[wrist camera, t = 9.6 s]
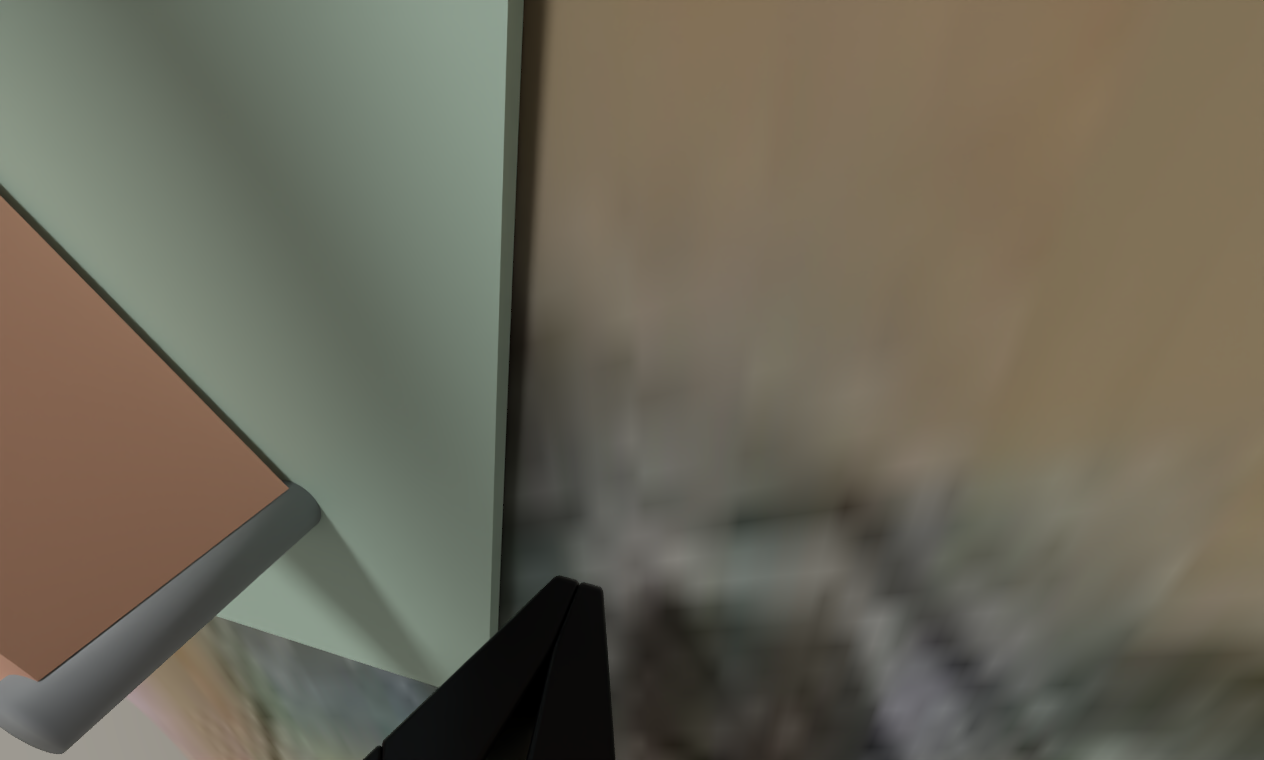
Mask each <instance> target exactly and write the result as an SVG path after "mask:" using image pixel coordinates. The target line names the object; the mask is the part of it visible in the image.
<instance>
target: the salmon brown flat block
mask: <svg viewBox="0 0 1264 760" xmlns="http://www.w3.org/2000/svg"><path fill="white" fill-rule="evenodd" d="M320 519H321V510H320V507H319V505H318V503H317V501H316V500H315V499H314V497H313V496H312V495H311V494H310V493H309V492H308V491H307V490H305V489H304V488H303V487H301V486H299V485H298V484H296V483H293V482H291V481H287V480H280V479H279V478H278V477H277V476H276V475H275V474H274V473H273V472H272V471H271V470H270V469H269V468H268V467H267V466H266V465H265V464H264V463H263V462H262V461H261V460H260V459H259V458H258V456H257V455H256V454H255V453H254V452H253V451H252V450H251V449H250V448H249V447H248V446H247V445H246V444H245V443H244V442H243V441H242V440H241V439H240V438H239V437H238V436H237V435H236V434H235V433H234V432H233V431H232V430H231V429H230V428H229V427H228V426H227V425H226V424H225V423H224V422H223V421H222V420H221V419H220V418H219V417H218V416H217V415H216V414H215V413H214V412H213V411H212V410H211V409H210V408H209V407H208V406H207V405H206V404H205V403H204V402H203V401H202V400H201V399H200V398H199V397H198V396H197V395H196V394H195V393H194V392H193V391H192V390H191V388H190V387H189V386H188V385H187V384H186V383H185V382H184V381H183V380H182V379H181V378H180V377H179V376H178V375H177V374H176V373H175V372H174V371H173V370H172V369H171V368H170V367H169V366H168V365H167V364H166V363H165V362H164V361H163V360H162V359H161V358H160V357H159V356H158V355H157V354H156V353H155V352H154V351H153V350H152V349H151V348H150V347H149V346H148V345H147V344H146V343H145V342H144V341H143V340H142V339H141V338H140V337H139V336H138V335H137V334H136V333H135V332H134V331H133V330H132V329H131V328H130V327H129V326H128V325H127V324H126V323H125V321H124V320H123V319H122V318H121V317H120V316H119V315H118V314H117V313H116V312H115V311H114V310H113V309H112V308H111V307H110V306H109V305H108V304H107V303H106V302H105V301H104V300H103V299H102V298H101V297H100V296H99V295H98V294H97V293H96V292H95V291H94V290H93V289H92V288H91V287H90V286H89V285H88V284H87V283H86V282H85V281H84V280H83V279H82V278H81V277H80V276H79V275H78V274H77V273H76V272H75V271H74V270H73V269H72V268H71V267H70V266H69V265H68V264H67V263H66V262H65V261H64V260H63V259H62V258H61V257H60V256H59V255H58V253H57V252H56V251H55V250H54V249H53V248H52V247H51V246H50V245H49V244H48V243H47V242H46V241H45V240H44V239H43V238H42V237H41V236H40V235H39V234H38V233H37V232H36V231H35V230H34V229H33V228H32V227H31V226H30V225H29V224H28V223H27V222H26V221H25V220H24V219H23V218H22V217H21V216H20V215H19V214H18V213H17V212H16V211H15V210H14V209H13V208H12V207H11V206H10V205H9V204H8V203H7V202H6V201H5V200H4V199H3V198H2V197H1V196H0V727H1V728H3V729H4V730H5V731H7V732H8V733H10V734H11V735H13V736H14V737H16V738H18V739H20V740H21V741H23V742H25V743H27V744H29V745H31V746H33V747H35V748H38V749H40V750H43V751H46V752H49V753H54V754H62V753H64V752H65V751H66V750H68V749H69V748H70V747H71V746H72V745H73V744H74V743H75V742H76V741H78V740H79V739H80V738H81V737H82V736H83V735H84V734H85V733H86V732H88V731H89V730H90V729H91V728H92V727H93V726H94V725H95V724H96V723H97V722H99V721H100V720H101V719H102V718H103V717H104V716H105V715H106V714H107V713H109V712H110V711H111V710H112V709H113V708H114V707H115V706H116V705H117V704H119V703H120V702H121V701H122V700H123V699H124V698H125V697H126V696H127V695H128V694H130V693H131V692H132V691H133V690H134V689H135V688H136V687H137V686H138V685H140V684H141V683H142V682H143V681H144V680H145V679H146V678H147V677H148V676H150V675H151V674H152V673H153V672H154V671H155V670H156V669H157V668H158V667H159V666H161V665H162V664H163V663H164V662H165V661H166V660H167V659H168V658H169V657H171V656H172V655H173V654H174V653H175V652H176V651H177V650H178V649H179V648H181V647H182V646H183V645H184V644H185V643H186V642H187V641H188V640H189V639H190V638H192V637H193V636H194V635H195V634H196V633H197V632H198V631H199V630H200V629H202V628H203V627H204V626H205V625H206V624H207V623H208V622H209V621H210V620H212V619H213V618H214V617H215V616H216V615H217V614H218V613H219V612H220V611H221V610H223V609H224V608H225V607H226V606H227V605H228V604H229V603H230V602H231V601H233V600H234V599H235V598H236V597H237V596H238V595H239V594H240V593H241V592H243V591H244V590H245V589H246V588H247V587H248V586H249V585H250V584H251V583H253V582H254V581H255V580H256V579H257V578H258V577H259V576H260V575H261V574H262V573H264V572H265V571H266V570H267V569H268V568H269V567H270V566H271V565H272V564H274V563H275V562H276V561H277V560H278V559H279V558H280V557H281V556H282V555H284V554H285V553H286V552H287V551H288V550H289V549H290V548H291V547H292V546H293V545H295V544H296V543H297V542H298V541H299V540H300V539H301V538H302V537H303V536H305V535H306V534H307V533H308V532H309V531H310V530H311V529H312V528H313V527H315V526H316V525H317V524H318V523H319V521H320Z"/></svg>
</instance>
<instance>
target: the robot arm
mask: <svg viewBox="0 0 1264 760" xmlns="http://www.w3.org/2000/svg"><path fill="white" fill-rule="evenodd" d="M526 757H527V758H526ZM525 759H526V760H615V748H614V734H613V720H612V706H611V692H610V678H609V664H608V650H607V636H606V622H605V609H604V595H603V590H602V588H601V587H599V586H595V585H592V584H588V583H585V582H583V583H580V584H579V582H578V581H577V580H574V579H571V578H567V577H564V576H556V577H554V578H553V579H552V580H551V581H550V582H549V583H548V584H547V585H546V586H545V587H544V588H543V589H542V590H540V591H539V592H538V593H537V594H536V595H535V596H534V597H533V598H532V599H531V600H530V601H529V602H528V603H527V604H526V605H525V606H524V607H523V608H522V609H521V610H520V611H518V612H517V613H516V614H515V615H514V616H513V617H512V618H511V619H510V620H509V621H508V622H507V623H506V624H505V625H504V626H503V627H502V628H501V629H500V630H499V631H498V632H496V633H495V634H494V635H493V636H492V637H491V638H490V639H489V640H488V641H487V642H486V643H485V644H484V645H483V646H482V647H481V648H480V649H479V650H478V651H477V652H475V653H474V654H473V655H472V656H471V657H470V658H469V659H468V660H467V661H466V662H465V663H464V664H463V665H462V666H461V667H460V668H459V669H458V670H457V671H456V672H455V673H453V674H452V675H451V676H450V677H449V678H448V679H447V680H446V681H445V682H444V683H443V684H442V685H441V686H440V687H439V688H438V689H437V690H436V691H435V692H434V693H433V694H431V695H430V696H429V697H428V698H427V699H426V700H425V701H424V702H423V703H422V704H421V705H420V706H419V707H418V708H417V709H416V710H415V711H414V712H413V713H412V714H411V715H409V716H408V717H407V718H406V719H405V720H404V721H403V722H402V723H401V724H400V725H399V726H398V727H397V728H396V729H395V730H394V731H393V732H392V733H391V734H390V735H388V736H387V737H386V738H385V739H384V740H383V743H382V747H381V746H377V747H376V748H375V749H373V750H372V751H371V752H370V753H369V754H368V755H367V756H366V757H365V758H364V759H363V760H525Z"/></svg>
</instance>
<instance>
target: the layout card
mask: <svg viewBox="0 0 1264 760" xmlns="http://www.w3.org/2000/svg"><path fill="white" fill-rule="evenodd" d="M523 6H524V0H0V196H1V197H2V198H3V199H4V200H5V201H6V202H7V203H8V204H9V205H10V206H11V207H12V208H13V209H14V210H15V211H16V212H17V213H18V214H19V215H20V216H21V217H22V218H23V219H24V220H25V221H26V222H27V223H28V224H29V225H30V226H31V227H32V228H33V229H34V230H35V231H36V232H37V233H38V234H39V235H40V236H41V237H42V238H43V239H44V240H45V241H46V242H47V243H48V244H49V245H50V246H51V247H52V248H53V249H54V250H55V251H56V252H57V253H58V255H59V256H60V257H61V258H62V259H63V260H64V261H65V262H66V263H67V264H68V265H69V266H70V267H71V268H72V269H73V270H74V271H75V272H76V273H77V274H78V275H79V276H80V277H81V278H82V279H83V280H84V281H85V282H86V283H87V284H88V285H89V286H90V287H91V288H92V289H93V290H94V291H95V292H96V293H97V294H98V295H99V296H100V297H101V298H102V299H103V300H104V301H105V302H106V303H107V304H108V305H109V306H110V307H111V308H112V309H113V310H114V311H115V312H116V313H117V314H118V315H119V316H120V317H121V318H122V319H123V320H124V321H125V323H126V324H127V325H128V326H129V327H130V328H131V329H132V330H133V331H134V332H135V333H136V334H137V335H138V336H139V337H140V338H141V339H142V340H143V341H144V342H145V343H146V344H147V345H148V346H149V347H150V348H151V349H152V350H153V351H154V352H155V353H156V354H157V355H158V356H159V357H160V358H161V359H162V360H163V361H164V362H165V363H166V364H167V365H168V366H169V367H170V368H171V369H172V370H173V371H174V372H175V373H176V374H177V375H178V376H179V377H180V378H181V379H182V380H183V381H184V382H185V383H186V384H187V385H188V386H189V387H190V388H191V390H192V391H193V392H194V393H195V394H196V395H197V396H198V397H199V398H200V399H201V400H202V401H203V402H204V403H205V404H206V405H207V406H208V407H209V408H210V409H211V410H212V411H213V412H214V413H215V414H216V415H217V416H218V417H219V418H220V419H221V420H222V421H223V422H224V423H225V424H226V425H227V426H228V427H229V428H230V429H231V430H232V431H233V432H234V433H235V434H236V435H237V436H238V437H239V438H240V439H241V440H242V441H243V442H244V443H245V444H246V445H247V446H248V447H249V448H250V449H251V450H252V451H253V452H254V453H255V454H256V455H257V456H258V458H259V459H260V460H261V461H262V462H263V463H264V464H265V465H266V466H267V467H268V468H269V469H270V470H271V471H272V472H273V473H274V474H275V475H276V476H277V477H278V478H279V479H280V480H287V481H291V482H293V483H296V484H298V485H299V486H301V487H303V488H304V489H305V490H307V491H308V492H309V493H310V494H311V495H312V496H313V497H314V499H315V500H316V501H317V503H318V505H319V507H320V510H321V519H320V521H319V523H318V524H317V525H316V526H315V527H313V528H312V529H311V530H310V531H309V532H308V533H307V534H306V535H305V536H303V537H302V538H301V539H300V540H299V541H298V542H297V543H296V544H295V545H293V546H292V547H291V548H290V549H289V550H288V551H287V552H286V553H285V554H284V555H282V556H281V557H280V558H279V559H278V560H277V561H276V562H275V563H274V564H272V565H271V566H270V567H269V568H268V569H267V570H266V571H265V572H264V573H262V574H261V575H260V576H259V577H258V578H257V579H256V580H255V581H254V582H253V583H251V584H250V585H249V586H248V587H247V588H246V589H245V590H244V591H243V592H241V593H240V594H239V595H238V596H237V597H236V598H235V599H234V600H233V601H231V602H230V603H229V604H228V605H227V606H226V607H225V608H224V609H223V610H221V611H220V612H219V613H218V614H217V615H216V616H218V617H221V618H224V619H227V620H230V621H234V622H237V623H240V624H243V625H246V626H249V627H252V628H255V629H258V630H262V631H265V632H268V633H271V634H274V635H277V636H280V637H283V638H286V639H290V640H293V641H296V642H299V643H302V644H305V645H308V646H311V647H314V648H317V649H321V650H324V651H327V652H330V653H333V654H336V655H339V656H342V657H345V658H349V659H352V660H355V661H358V662H361V663H364V664H367V665H370V666H373V667H377V668H380V669H383V670H386V671H389V672H392V673H395V674H398V675H401V676H405V677H408V678H411V679H414V680H417V681H420V682H423V683H426V684H429V685H433V686H436V687H440V686H441V685H442V684H443V683H444V682H445V681H446V680H447V679H448V678H449V677H450V676H451V675H452V674H453V673H455V672H456V671H457V670H458V669H459V668H460V667H461V666H462V665H463V664H464V663H465V662H466V661H467V660H468V659H469V658H470V657H471V656H472V655H473V654H474V653H475V652H477V651H478V650H479V649H480V648H481V647H482V646H483V645H484V644H485V643H486V642H487V641H488V640H489V639H490V638H491V637H492V636H493V635H494V634H495V633H496V632H498V616H499V591H500V567H501V542H502V518H503V494H504V469H505V445H506V421H507V396H508V372H509V347H510V323H511V299H512V274H513V250H514V226H515V201H516V177H517V152H518V128H519V104H520V79H521V55H522V30H523Z"/></svg>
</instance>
